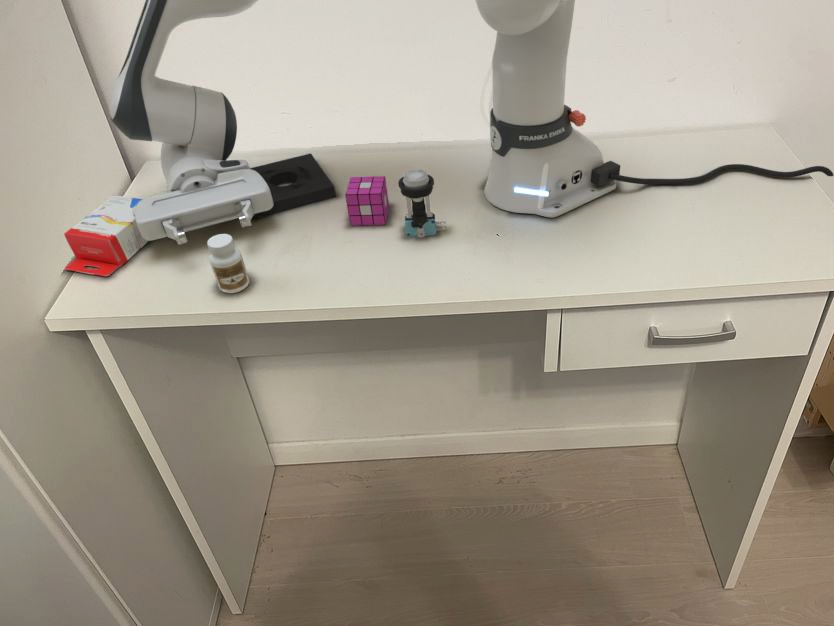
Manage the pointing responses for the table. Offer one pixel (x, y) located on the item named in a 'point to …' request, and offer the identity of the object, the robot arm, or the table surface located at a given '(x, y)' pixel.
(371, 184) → the puzzle toy
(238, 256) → the pill bottle
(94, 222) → the ink box
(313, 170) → the pad
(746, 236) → the table surface
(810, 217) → the table surface
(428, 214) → the push button
